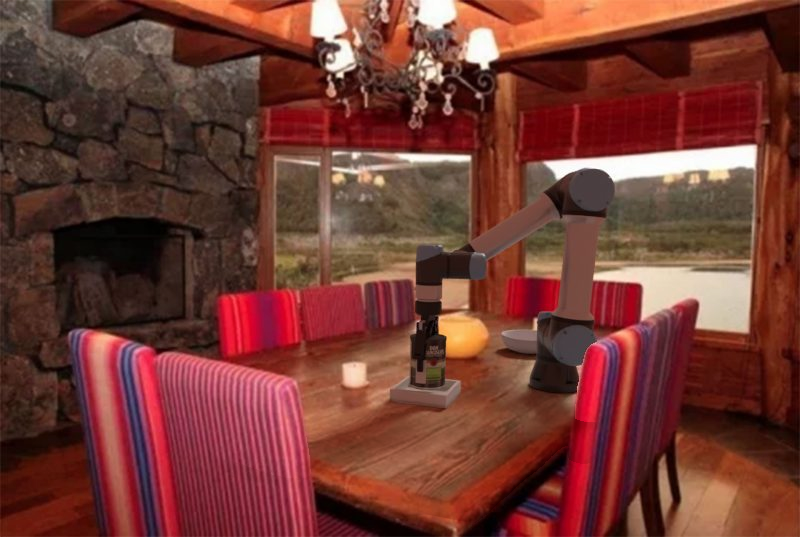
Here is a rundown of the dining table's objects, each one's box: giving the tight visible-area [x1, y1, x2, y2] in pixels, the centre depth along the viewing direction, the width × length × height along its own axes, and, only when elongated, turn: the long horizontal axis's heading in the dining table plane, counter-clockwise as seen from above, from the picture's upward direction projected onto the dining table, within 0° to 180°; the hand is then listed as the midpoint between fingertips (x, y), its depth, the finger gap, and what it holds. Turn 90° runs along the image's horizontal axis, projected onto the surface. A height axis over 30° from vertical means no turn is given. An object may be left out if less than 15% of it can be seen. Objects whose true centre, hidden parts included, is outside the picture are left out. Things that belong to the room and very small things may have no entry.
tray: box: [389, 374, 462, 409], centre depth 164 cm, size 16×16×4 cm
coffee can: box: [409, 333, 448, 390], centre depth 164 cm, size 10×10×14 cm
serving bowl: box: [500, 329, 537, 355], centre depth 227 cm, size 21×21×7 cm
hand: (426, 378), depth 164 cm, fingers closed on coffee can, 10 cm apart
